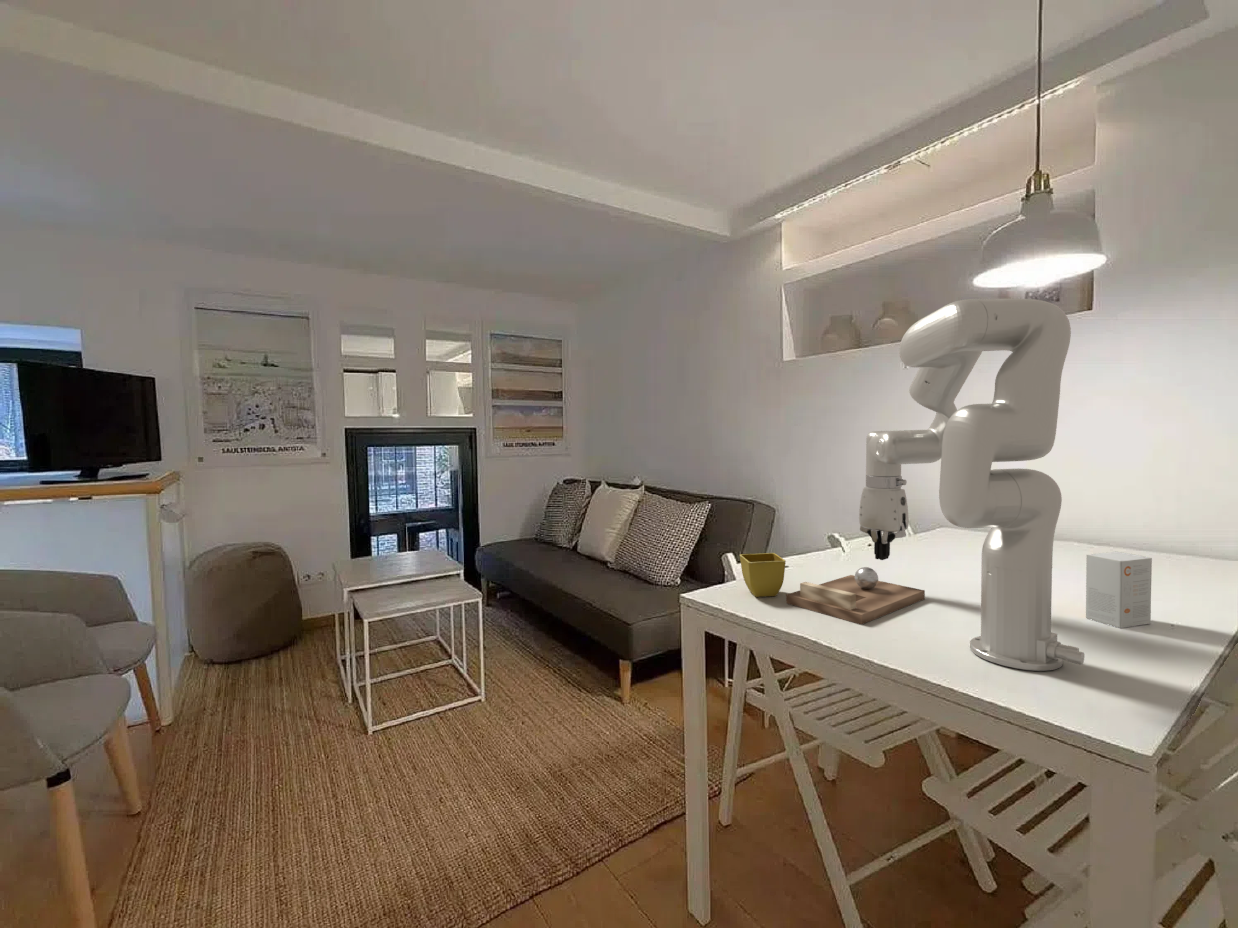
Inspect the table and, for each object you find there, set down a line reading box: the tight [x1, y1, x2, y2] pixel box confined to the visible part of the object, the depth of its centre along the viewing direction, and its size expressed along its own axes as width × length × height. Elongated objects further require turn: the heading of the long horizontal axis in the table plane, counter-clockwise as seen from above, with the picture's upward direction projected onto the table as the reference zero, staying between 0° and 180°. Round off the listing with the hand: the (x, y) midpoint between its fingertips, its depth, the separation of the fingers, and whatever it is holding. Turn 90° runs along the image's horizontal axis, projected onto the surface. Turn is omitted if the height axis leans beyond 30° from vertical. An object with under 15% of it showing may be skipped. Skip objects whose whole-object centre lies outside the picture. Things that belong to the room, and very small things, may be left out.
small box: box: [1085, 551, 1153, 629], centre depth 105 cm, size 8×6×13 cm
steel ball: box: [854, 566, 879, 589], centre depth 124 cm, size 5×5×5 cm
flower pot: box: [739, 552, 787, 598], centre depth 129 cm, size 9×9×9 cm
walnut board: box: [785, 574, 926, 625], centre depth 122 cm, size 18×26×5 cm
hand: (881, 558), depth 129 cm, fingers closed
